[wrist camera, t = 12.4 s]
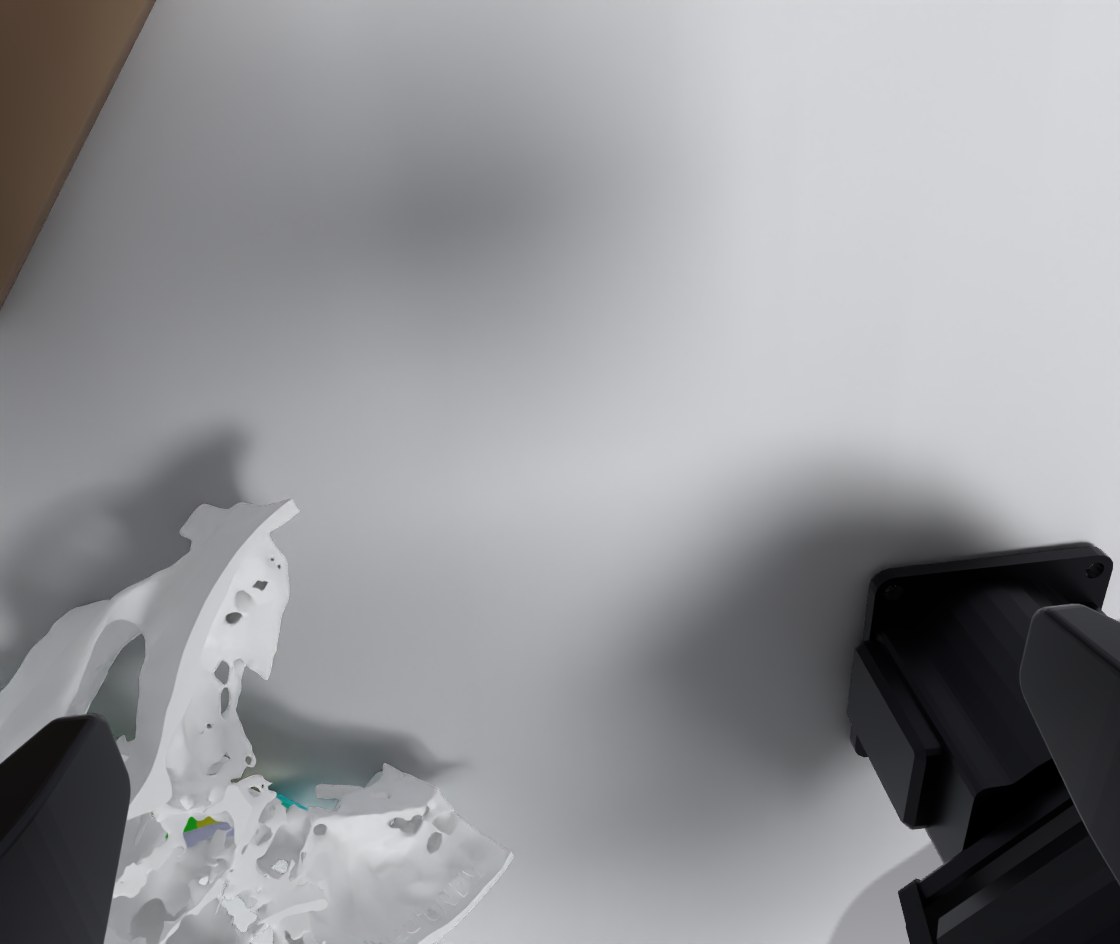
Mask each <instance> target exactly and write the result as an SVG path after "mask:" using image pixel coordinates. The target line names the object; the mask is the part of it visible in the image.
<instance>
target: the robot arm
mask: <svg viewBox="0 0 1120 944" xmlns="http://www.w3.org/2000/svg"><path fill="white" fill-rule="evenodd" d="M1092 564H1093V565H1092ZM1090 565H1092V566H1091V567H1090V568H1088V567H1089V566H1090ZM1087 568H1088V569H1087ZM1112 570H1113V562H1112V560H1111V558H1110V557H1109V556H1108V555H1106V554H1105V553H1104V552H1103V551H1102V550H1101V549H1099V548H1097V547H1083V548H1074V549H1064V550H1055V551H1046V552H1037V553H1028V554H1019V555H1009V556H1000V557H991V558H982V559H973V560H963V561H954V562H945V563H936V564H927V565H918V566H908V567H899V568H890V569H886V570H882V571H881V572H879V573H878V574H876V575H875V576H874V577H873V579H872V580H871V582H870V585H869V592H868V600H867V607H866V615H865V623H864V631H863V639H862V641H860V642H859V644H858V645H857V647H856V648H855V650H854V657H853V665H852V673H851V681H850V689H849V698H848V706H847V716H848V718H849V720H850V722H851V732H850V741H851V743H852V745H853V747H854V749H855V751H856V753H857V754H858V755H860V756H862V757H869V759H870V761H871V763H872V765H873V767H874V769H875V771H876V773H877V775H878V777H879V779H880V781H881V783H882V785H883V787H884V789H885V791H886V793H887V795H888V797H889V798H890V800H891V802H892V804H893V806H894V808H895V810H896V812H897V814H898V816H899V818H900V820H901V822H902V823H904V824H905V825H906V826H907V827H909V828H910V829H912V830H914V829H921V828H925V830H926V832H927V834H928V835H929V837H930V839H931V841H932V843H933V845H934V846H935V849H936V850H937V852H938V854H939V856H940V858H941V860H942V862H943V865H942V866H940V867H939V868H938V869H936V870H935V871H933V872H932V873H930V874H929V875H928V876H926V877H925V878H923V879H922V880H919V879H915V880H913V881H912V882H911V883H909V884H908V885H906V886H905V887H904V888H902V889H901V890H899V891H898V894H899V899H900V903H901V906H902V910H903V914H904V919H905V922H906V930H907V933H908V937H909V942H910V944H1120V622H1118V621H1116V620H1114V619H1112V618H1110V617H1108V616H1107V615H1106V614H1105V613H1104V612H1103V611H1102V610H1101V609H1102V605H1103V601H1104V598H1105V594H1106V591H1107V587H1108V584H1109V580H1110V577H1111V573H1112ZM893 585H896V586H895V588H893V589H892V590H890V591H887V592H885V591H886V589H887V588H889V587H890V586H893ZM130 796H131V786H130V778H129V774H128V771H127V769H126V766H125V764H124V761H123V758H122V756H121V753H120V751H119V748H118V746H117V743H116V741H115V738H114V736H113V733H112V731H111V728H110V726H109V724H108V722H107V720H106V719H105V718H104V717H103V716H102V715H99V714H95V713H92V714H83V715H74V716H65V717H60V718H56V719H54V720H52V721H51V722H49V723H48V724H47V725H45V726H44V727H43V728H42V729H41V730H39V731H38V732H37V733H36V734H35V735H33V736H32V737H31V738H30V739H29V740H27V741H26V742H25V743H24V744H23V745H22V746H20V747H19V748H18V749H17V750H16V751H14V752H13V753H12V754H11V755H10V756H8V757H7V758H6V759H5V760H4V761H3V762H1V763H0V944H104V940H105V935H106V930H107V925H108V919H109V914H110V908H111V903H112V897H113V892H114V886H115V881H116V875H117V870H118V864H119V859H120V854H121V848H122V843H123V837H124V832H125V826H126V821H127V815H128V810H129V804H130Z"/></svg>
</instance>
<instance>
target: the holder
mask: <svg viewBox="0 0 1120 944" xmlns="http://www.w3.org/2000/svg"><path fill="white" fill-rule="evenodd" d="M155 1H156V0H0V309H1V307H2V305H3V303H4V301H5V299H6V297H7V295H8V293H9V291H10V289H11V287H12V285H13V283H14V281H15V279H16V277H17V275H18V273H19V271H20V269H21V267H22V265H23V263H24V261H25V259H26V257H27V256H28V254H29V252H30V250H31V248H32V246H33V244H34V242H35V240H36V238H37V236H38V234H39V232H40V230H41V228H42V226H43V224H44V222H45V220H46V218H47V216H48V214H49V212H50V210H51V208H52V206H53V204H54V202H55V200H56V198H57V196H58V194H59V192H60V190H61V188H62V186H63V184H64V182H65V180H66V178H67V176H68V174H69V172H70V170H71V168H72V166H73V164H74V162H75V160H76V158H77V156H78V154H79V152H80V150H81V148H82V146H83V144H84V142H85V140H86V138H87V136H88V134H89V132H90V130H91V128H92V126H93V124H94V122H95V120H96V118H97V116H98V114H99V112H100V110H101V108H102V106H103V104H104V102H105V101H106V99H107V97H108V95H109V93H110V91H111V89H112V87H113V85H114V83H115V81H116V79H117V77H118V75H119V73H120V71H121V69H122V67H123V65H124V63H125V61H126V59H127V57H128V55H129V53H130V51H131V49H132V47H133V45H134V43H135V41H136V39H137V37H138V35H139V33H140V31H141V29H142V27H143V25H144V23H145V21H146V19H147V17H148V15H149V13H150V11H151V9H152V7H153V5H154V3H155Z"/></svg>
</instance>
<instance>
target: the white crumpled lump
mask: <svg viewBox="0 0 1120 944" xmlns="http://www.w3.org/2000/svg"><path fill="white" fill-rule="evenodd" d="M299 512H300V511H299V509H298V507H297V506H296V504H295V503H294V501H293V499H288V500H284V501H280V502H277V503H273V504H270V505H264V506H258V505H254V504H250V503H246V502H240V503H238V504H235V505H234V506H233V507H231V508H230V509H223V508H218V507H214V506H212V505H209V504H202V505H200V506H199V507H198V508H196V510H195V511H194V512H193V513H192V514H191V516H190V517H189V518H188V520H187V521H186V523H185V524H184V525H183V526H182V528H181V529H180V531H179V532H180V535H181V536H182V537H185V538H189V539H190V540H191V542H192V543H191V548H190V551H189V552H188V553H187V554H186V555H184V556H183V557H182V558H180V559H179V560H178V561H177V562H176V563H175V564H174V565H172V566H170V567H168V568H166V569H163V570H160V571H158V572H156V573H155V574H153V575H152V576H150V577H148V578H146V579H144V580H142V581H140V582H138V583H135V584H133V585H131V586H129V587H127V588H125V589H124V590H122V591H121V592H119V593H118V594H116V595H115V596H114V597H113V598H112V599H111V600H101V601H97V602H94V603H91V604H88V605H84V606H79V607H76V608H73V609H71V610H70V611H68V612H67V613H66V614H64V615H63V616H62V617H61V618H60V619H58V620H57V621H56V622H55V623H54V624H53V626H52V627H51V629H50V631H49V632H48V633H47V634H46V635H45V636H44V637H43V638H42V639H41V640H40V641H39V642H38V643H37V644H36V645H35V646H34V647H33V648H32V649H31V650H30V651H29V653H28V654H27V656H26V658H25V660H24V661H23V663H22V664H21V666H20V667H19V669H18V671H17V672H16V674H15V676H14V677H13V678H12V680H11V681H10V682H9V684H8V685H7V686H6V687H5V688H4V689H3V690H2V691H1V692H0V763H1V762H3V761H4V760H5V759H6V758H7V757H8V756H10V755H11V754H12V753H13V752H14V751H16V750H17V749H18V748H19V747H20V746H22V745H23V744H24V743H25V742H26V741H27V740H29V739H30V738H31V737H32V736H33V735H35V734H36V733H37V732H38V731H39V730H41V729H42V728H43V727H44V726H45V725H47V724H48V723H49V722H51V721H52V720H54V719H56V718H60V717H65V716H74V715H83V714H86V713H87V711H88V709H89V706H90V704H91V702H92V700H93V699H94V698H95V696H96V695H97V693H98V691H99V689H100V687H101V685H102V684H103V682H104V680H105V678H106V676H107V672H108V670H109V668H110V667H111V665H112V663H113V662H114V660H115V658H116V657H117V655H118V654H119V652H120V651H121V649H122V648H123V647H125V646H126V645H127V644H128V643H129V642H130V641H132V640H133V639H134V638H135V637H137V636H138V635H140V634H141V633H142V635H143V636H144V639H145V660H144V662H143V665H142V667H141V671H140V675H139V699H138V706H137V713H136V736H135V739H134V740H132V741H129V742H127V740H126V736H124V735H123V736H121V737H120V738H119V739H118V740H117V741H116V743H117V746H118V748H119V751H120V753H121V756H122V758H123V761H124V764H125V766H126V769H127V771H128V774H129V778H130V786H131V796H130V804H129V810H128V815H127V821H126V826H125V832H124V837H123V843H122V848H121V854H120V859H119V864H118V870H117V875H116V881H115V886H114V892H113V897H112V903H111V908H110V914H109V919H108V925H107V930H106V935H105V940H104V944H251V942H250V941H251V940H253V939H255V938H257V937H259V936H260V935H261V934H262V933H263V932H264V930H265V928H267V927H270V929H271V930H272V931H273V944H434V943H436V942H437V941H439V940H440V939H441V938H443V937H444V936H445V935H446V934H447V933H448V932H450V931H451V930H452V929H453V928H454V927H455V926H456V925H457V924H458V923H459V922H460V921H461V920H462V919H463V918H464V917H465V916H466V915H467V914H468V913H469V912H470V911H471V910H472V909H473V908H474V907H475V906H476V904H477V903H478V902H479V901H480V900H481V899H482V898H483V897H484V895H485V894H486V893H487V892H488V891H489V890H490V888H491V887H492V886H493V885H494V884H495V882H496V881H497V880H498V879H499V878H500V876H501V875H502V874H503V873H504V871H505V870H506V869H507V867H508V866H509V864H510V863H511V861H512V860H513V858H514V856H513V854H512V853H511V851H509V850H507V849H506V848H504V847H503V846H501V845H500V844H498V843H497V842H495V841H494V840H492V839H490V838H489V837H487V836H485V835H484V834H482V833H481V832H479V831H478V830H476V829H475V828H474V827H472V826H471V825H470V824H468V823H467V822H466V821H465V820H463V819H462V818H461V817H460V816H459V815H458V814H456V813H455V810H454V809H453V807H452V806H451V805H450V804H449V802H448V801H447V800H446V799H445V797H444V796H443V795H442V794H441V792H440V791H439V789H438V788H437V787H436V786H434V785H432V784H430V783H428V782H425V781H423V780H420V779H418V778H416V777H414V776H412V775H410V774H408V773H403V772H401V771H399V770H397V769H395V768H393V767H392V766H390V765H388V764H386V763H384V765H383V770H382V772H378V773H376V774H375V775H374V776H373V777H372V778H371V780H370V781H369V783H368V784H367V786H366V787H365V788H363V787H360V786H351V785H330V784H319V785H317V786H316V789H315V797H316V798H318V799H340V801H339V802H338V804H337V805H336V807H335V808H334V810H333V811H331V810H327V809H325V808H317V807H308V809H307V808H306V807H304V806H302V805H300V804H297V803H295V802H293V801H291V800H290V799H288V798H286V797H284V796H282V795H280V794H278V793H276V792H274V791H270V790H268V786H269V785H271V784H272V783H270V782H268V781H266V780H265V779H264V778H263V776H262V775H251V776H249V777H247V778H245V779H242V780H241V781H239V782H237V783H235V782H232V783H231V781H230V780H231V779H238V778H240V777H242V774H243V772H244V770H245V768H246V767H254V766H255V764H256V758H255V755H254V754H253V752H252V745H251V743H250V742H249V740H248V739H247V737H246V735H245V733H244V730H243V727H242V724H241V722H240V720H239V717H238V715H237V712H236V707H237V703H238V697H239V695H240V693H241V688H242V686H241V678H242V675H243V673H244V668H245V667H246V666H248V667H249V668H250V669H251V670H253V671H255V672H257V673H259V675H260V676H261V678H262V679H264V680H268V678H269V676H270V672H271V669H272V663H273V658H274V655H275V654H276V651H277V644H278V638H279V633H280V626H281V618H282V615H283V613H284V610H285V608H286V605H287V603H288V600H289V595H290V585H289V576H288V563H287V560H286V558H285V557H284V555H283V554H282V553H281V552H280V551H279V550H278V548H277V547H276V546H275V544H274V543H273V541H272V539H271V537H270V535H269V533H270V532H272V531H274V530H275V529H277V528H278V527H280V526H281V525H283V524H284V523H286V522H287V521H289V520H290V519H291V518H293V517H294V516H295V515H296V514H297V513H299ZM221 661H224V662H225V663H227V664H228V666H229V675H228V681H227V684H222V682H221V681H219V680H218V679H217V678H216V677H215V674H214V672H215V670H216V669H217V667H218V666H219V664H220V662H221ZM224 687H227V688H228V691H229V702H228V707H227V709H226V711H224V712H223V713H222V714H221V702H220V701H221V692H222V690H223V689H224ZM208 724H211V725H212V726H210V729H208V727H207V725H208ZM225 754H227V755H229V758H230V759H229V758H228V757H225V756H224V755H225ZM246 756H249V757H250V758H251V759H252V761H251V764H249V765H248V764H247V763H246V761H245V759H246ZM214 773H216V774H215V775H209V774H214ZM262 784H264V789H263V788H262ZM254 786H255V787H257V788H258V789H259V790H260V792H258V791H256V790H253V789H251V787H254ZM152 813H153V815H154V816H155V817H152V818H150V817H151V814H152ZM140 815H141V818H140ZM393 821H394V823H393V824H392V825H391V823H392V822H393ZM278 860H285V861H287V863H288V867H287V872H286V873H280V872H278V871H277V870H276V869H271V867H272V866H273V865H275V864H276V862H277V861H278ZM225 883H226V886H225V888H224V891H223V895H222V890H223V887H224V884H225ZM236 896H238V897H239V898H240V899H241V900H242V901H243V902H244V903H245V906H246V908H251V907H253V908H252V909H251V910H250V911H251V912H253V913H255V914H256V915H257V918H256V921H254V922H253V923H252V924H250V925H249V926H248V930H247V932H241V931H240V930H239V929H238V928H237V927H236V925H235V923H234V926H233V920H234V916H231V915H229V914H228V912H227V909H226V908H225V907H223V906H222V904H221V902H222V900H223V898H225V899H226V900H227V901H230V900H232V899H233V898H235V897H236ZM257 910H258V913H257Z"/></svg>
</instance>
